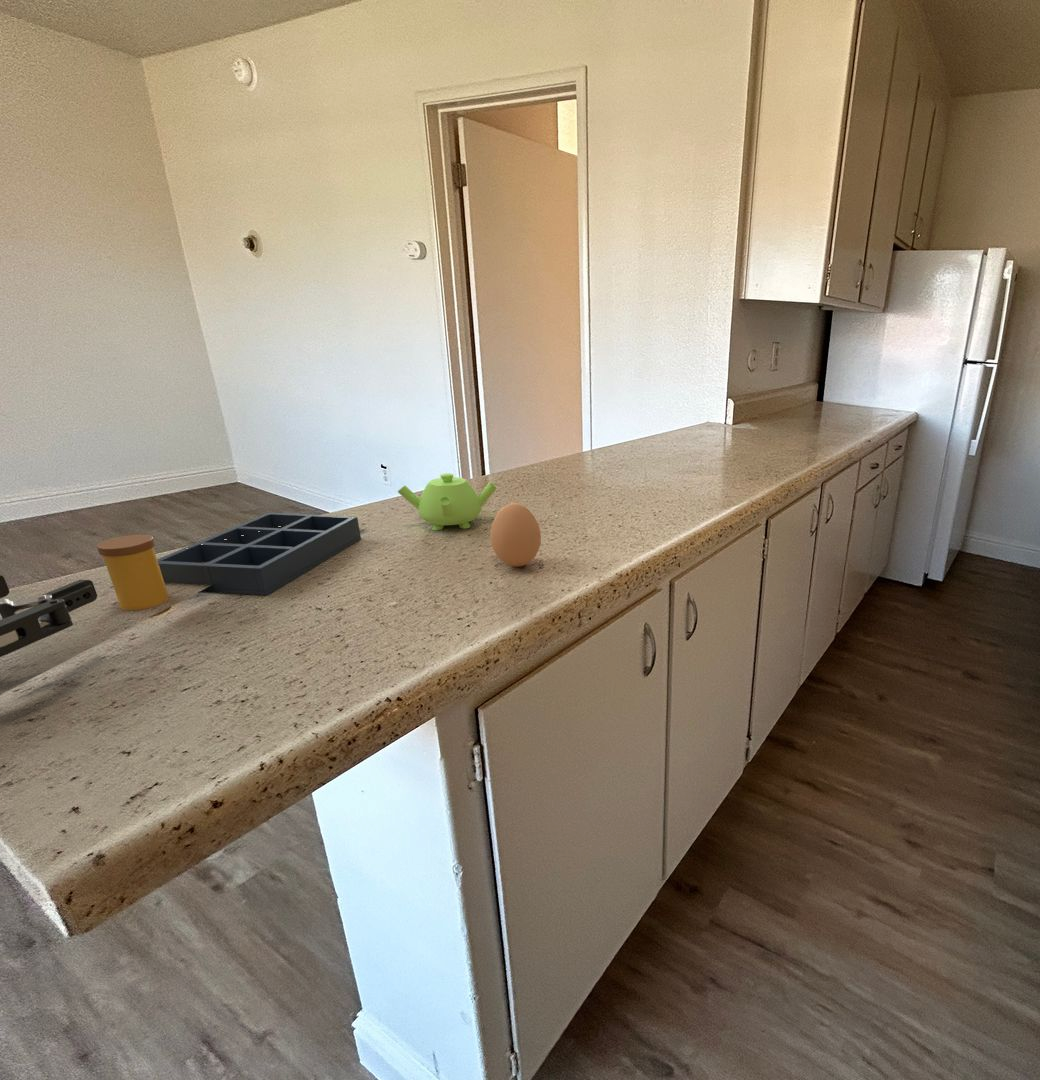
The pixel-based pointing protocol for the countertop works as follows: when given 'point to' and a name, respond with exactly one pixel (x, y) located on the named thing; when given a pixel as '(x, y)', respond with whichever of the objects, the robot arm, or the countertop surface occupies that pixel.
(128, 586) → the jar
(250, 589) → the grid
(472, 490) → the teapot
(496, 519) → the egg
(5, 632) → the robot arm
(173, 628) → the countertop surface
